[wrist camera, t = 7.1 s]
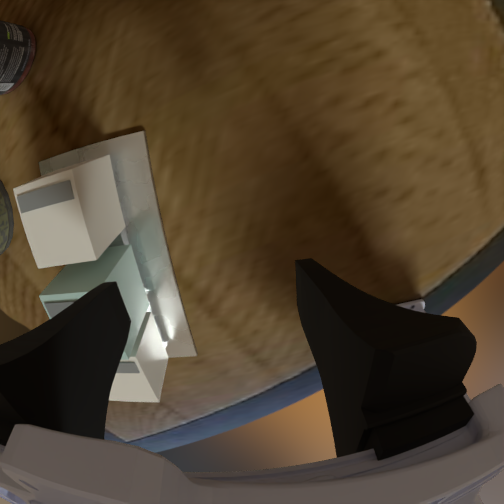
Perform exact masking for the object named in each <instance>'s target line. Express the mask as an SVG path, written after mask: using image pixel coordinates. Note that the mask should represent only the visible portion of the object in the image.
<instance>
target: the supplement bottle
mask: <svg viewBox="0 0 504 504" xmlns="http://www.w3.org/2000/svg"><path fill="white" fill-rule="evenodd" d="M35 50H36V41H35V37H34V35H33V33H32V32H31V30H29V29H28V28H26V27H23V26H20V25H16V24H13V23H8V22H4V21H0V95H3V94H7V93H9V92H11V91H13V90H14V89H15V88H16V87H18V86H19V85H20V84H21V82H22V81H23V80H24V79H25V77H26V76H27V74H28V72H29V70H30V68H31V65H32V63H33V60H34V57H35Z"/></svg>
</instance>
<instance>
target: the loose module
mask: <svg viewBox="0 0 504 504" xmlns="http://www.w3.org/2000/svg"><path fill="white" fill-rule="evenodd" d="M114 281H116V282H117V285H118V288H119V290H120V293H121V296H122V298H123V301H124V304H125V306H126V309H127V312H128V314H129V317H130V319H131V325H130V331H129V335H128V340H127V343H126V346H125V349H124V352H123V355H122V358H121V360H129V357H130V355H131V352H132V349H133V346H134V343H135V341H136V338H137V335H138V332H139V330H140V327H141V324H142V322H143V319H144V317H145V314H146V311H147V309H148V306H149V302H148V299H147V296H146V292H145V289H144V286H143V283H142V280H141V277H140V273H139V270H138V267H137V263H136V260H135V257H134V253H133V249H132V246H131V244H128V245H121V246H115V247H108V248H107V249H106V250H105V251H104V252H103V253H102V255H101V256H100V257H99V258H98V259H97V260H95V261H87V262H80V263H73V264H67V265H66V266H65V267H64V268H63V269H62V270H61V271H60V272H59V274H58V275H57V276H56V277H55V278H54V279H53V280H52V281H51V282H50V283H49V285H48V286H47V287H46V288H45V289H44V290H43V291H42V293H41V294H40V295H39V297H40V299H41V301H42V303H43V306H44V308H45V310H46V312H47V314H48V316H49V318H50V319H51V318H52V317H54V316H55V315H57V314H58V313H60V312H61V311H62V310H64V309H65V308H67V307H68V306H70V305H71V304H72V303H74V302H75V301H76V300H78V299H79V298H81V297H82V296H83V295H85V294H86V293H88V292H89V291H90V290H92V289H93V288H95V287H97V286H98V285H100V284H102V283H104V282H114Z"/></svg>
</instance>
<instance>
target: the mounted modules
mask: <svg viewBox="0 0 504 504" xmlns="http://www.w3.org/2000/svg"><path fill="white" fill-rule="evenodd" d="M13 190H14V194H15V198H16V202H17V206H18V209H19V213H20V216H21V220H22V223H23V226H24V229H25V233H26V236H27V239H28V242H29V245H30V247H31V250H32V253H33V256H34V258H35V261H36V264H37V266H38V268H45V267H52V266H59V265H66V264H73V263H80V262H87V261H95V260H97V259H98V258H99V257H100V256H101V255H102V253H103V252H104V251H105V250H106V249H107V247H108V246H109V245H110V244H111V243H112V242H113V240H114V239H115V238H116V237H117V236H118V235H119V234H120V233H121V231H122V230H123V229H124V228H125V227H126V226H125V222H124V218H123V214H122V210H121V206H120V202H119V198H118V193H117V189H116V184H115V180H114V175H113V170H112V165H111V160H110V155H106V156H102V157H99V158H95V159H91V160H88V161H84V162H81V163H78V164H74V165H71V166H68V167H64V168H61V169H58V170H55V171H53V172H50V173H48V174H45V175H43V176H41V177H38V178H36V179H34V180H31V181H29V182H27V183H25V184H23V185H20V186H18V187H16V188H14V189H13ZM168 358H169V357H168V355H167V352H166V350H165V347H164V344H163V342H162V339H161V337H160V334H159V331H158V329H157V326H156V323H155V320H154V317H153V315H152V312H146V314H145V317H144V319H143V322H142V324H141V327H140V330H139V332H138V335H137V338H136V341H135V343H134V346H133V349H132V352H131V355H130V357H129V360H120V363H119V366H118V369H117V372H116V375H115V378H114V381H113V384H112V387H111V391H110V396H109V400H112V401H131V402H159V401H160V396H161V391H162V386H163V381H164V376H165V371H166V367H167V362H168Z"/></svg>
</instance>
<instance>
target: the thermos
mask: <svg viewBox="0 0 504 504" xmlns="http://www.w3.org/2000/svg"><path fill="white" fill-rule="evenodd" d="M13 226H14V222H13V212H12V207H11V203H10V200H9V196H8V193H7V191H6V189H5V187H4V185H3V183H2V181H1V180H0V255H1V254H2V253H3V252H4V251H5V250H6V249H7V248H8V247H9V244H10V242H11V239H12V236H13Z"/></svg>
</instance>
